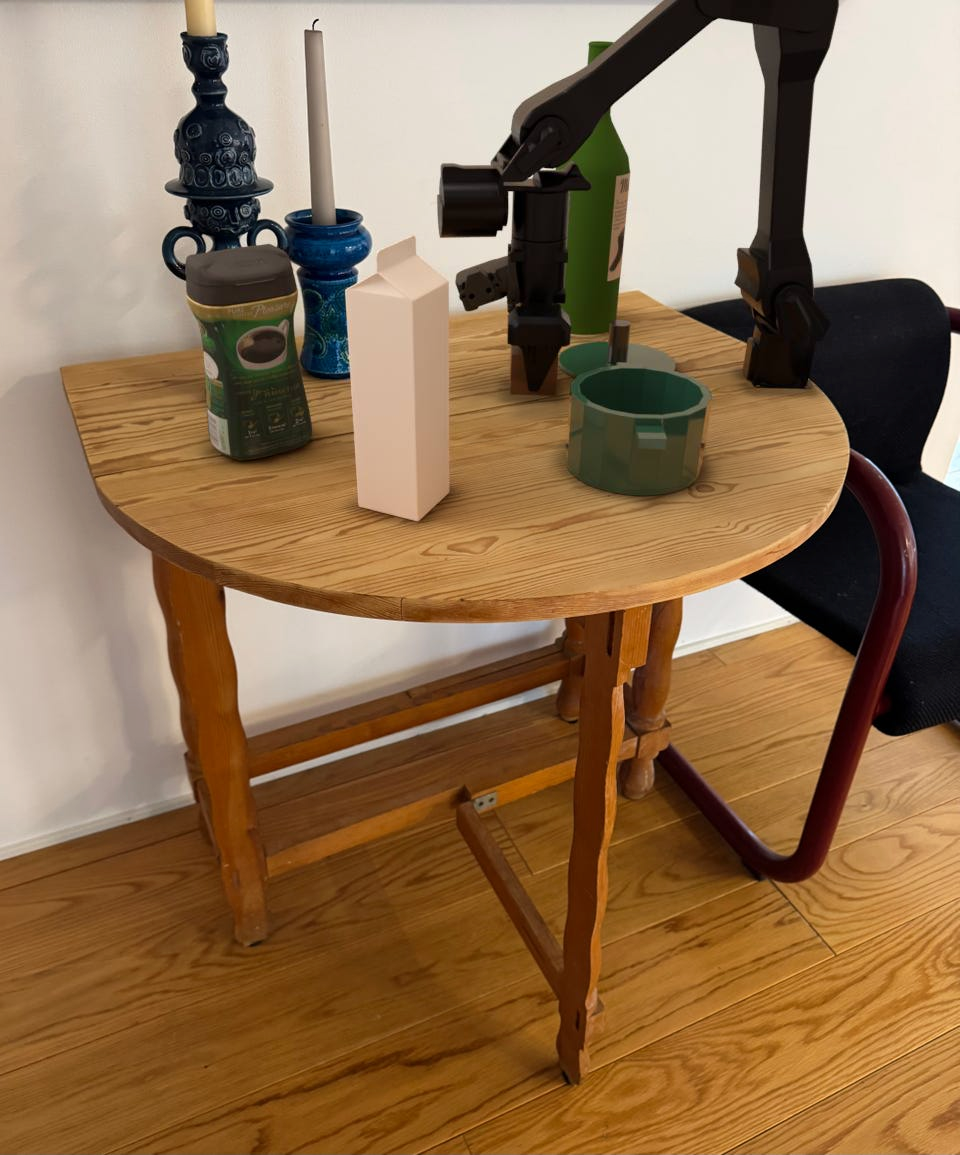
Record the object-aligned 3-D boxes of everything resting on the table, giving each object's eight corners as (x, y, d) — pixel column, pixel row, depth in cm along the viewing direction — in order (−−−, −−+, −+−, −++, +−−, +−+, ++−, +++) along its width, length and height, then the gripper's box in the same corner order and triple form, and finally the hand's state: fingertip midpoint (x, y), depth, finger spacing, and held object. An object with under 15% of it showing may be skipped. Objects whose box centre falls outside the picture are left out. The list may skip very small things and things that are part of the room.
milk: (358, 507, 82) (338, 247, 70) (392, 479, 87) (380, 229, 75) (419, 523, 80) (410, 256, 68) (451, 492, 85) (448, 238, 73)
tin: (683, 426, 98) (693, 356, 94) (716, 511, 83) (730, 432, 78) (560, 424, 98) (565, 354, 94) (572, 508, 83) (578, 429, 79)
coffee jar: (290, 418, 98) (271, 232, 88) (323, 447, 92) (307, 252, 82) (199, 439, 93) (168, 245, 83) (228, 470, 88) (198, 267, 78)
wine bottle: (611, 342, 119) (638, 46, 101) (541, 335, 121) (556, 43, 103) (619, 320, 127) (646, 40, 109) (553, 314, 128) (568, 38, 110)
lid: (665, 351, 117) (671, 305, 114) (683, 393, 105) (690, 344, 102) (554, 348, 117) (557, 303, 114) (560, 390, 105) (564, 341, 102)
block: (553, 382, 107) (556, 339, 105) (555, 400, 103) (558, 355, 100) (509, 382, 107) (511, 339, 105) (510, 399, 103) (511, 354, 101)
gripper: (463, 214, 104) (462, 351, 113) (456, 258, 89) (456, 414, 97) (564, 215, 104) (556, 353, 113) (576, 260, 88) (565, 416, 97)
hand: (532, 382), depth 105 cm, fingers closed on block, 5 cm apart
